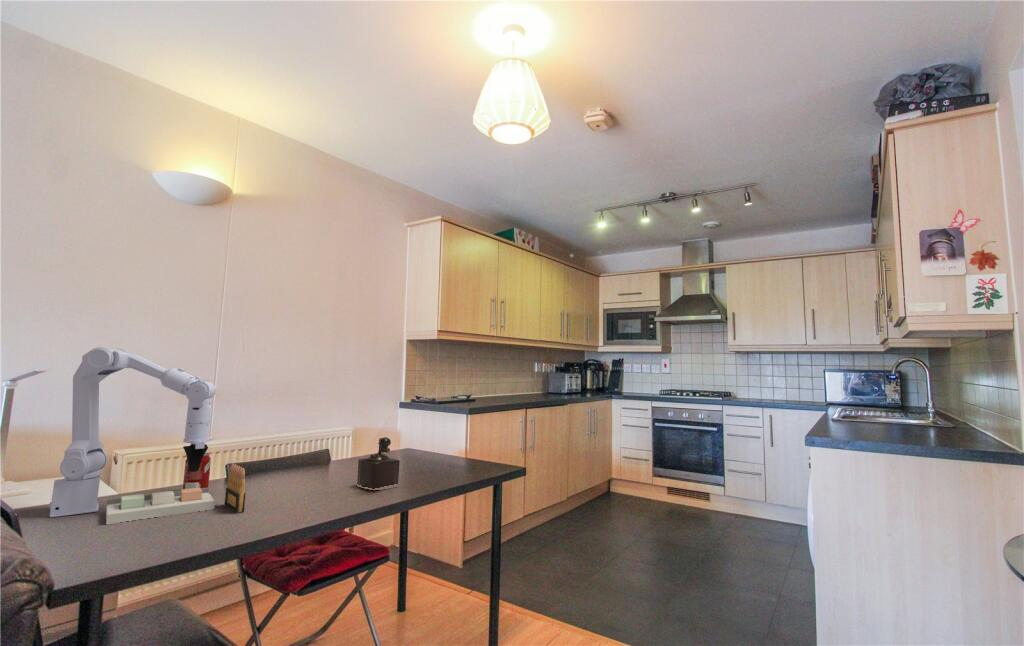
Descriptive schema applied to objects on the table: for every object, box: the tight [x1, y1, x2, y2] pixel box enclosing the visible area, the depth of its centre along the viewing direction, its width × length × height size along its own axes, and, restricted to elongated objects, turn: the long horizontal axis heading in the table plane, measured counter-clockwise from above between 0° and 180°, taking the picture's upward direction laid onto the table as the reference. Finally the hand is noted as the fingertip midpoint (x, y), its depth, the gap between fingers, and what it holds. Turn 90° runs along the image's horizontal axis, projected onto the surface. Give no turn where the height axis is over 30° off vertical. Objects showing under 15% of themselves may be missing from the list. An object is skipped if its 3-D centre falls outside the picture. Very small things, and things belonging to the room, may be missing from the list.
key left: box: [120, 493, 145, 510], centre depth 125 cm, size 5×5×3 cm
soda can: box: [182, 452, 212, 489], centre depth 149 cm, size 7×7×12 cm
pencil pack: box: [223, 462, 246, 514], centre depth 134 cm, size 11×2×12 cm, turn 47°
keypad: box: [105, 487, 216, 525], centre depth 129 cm, size 23×12×4 cm, turn 131°
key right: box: [179, 488, 202, 502], centre depth 134 cm, size 5×5×3 cm
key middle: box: [151, 490, 174, 506], centre depth 130 cm, size 5×5×3 cm
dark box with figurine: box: [356, 436, 401, 489], centre depth 162 cm, size 16×11×18 cm
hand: (193, 471), depth 135 cm, fingers closed
